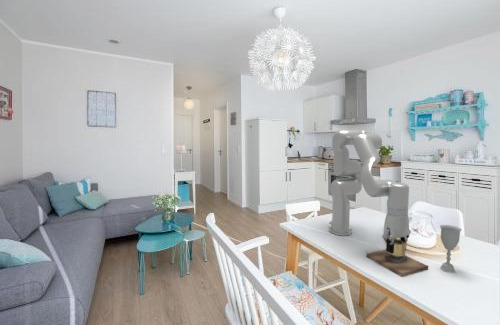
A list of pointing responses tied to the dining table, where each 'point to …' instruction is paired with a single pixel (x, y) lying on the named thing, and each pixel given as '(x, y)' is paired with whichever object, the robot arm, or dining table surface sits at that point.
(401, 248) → the ring
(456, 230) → the chalice
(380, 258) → the shaft stand
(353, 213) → the dining table surface
